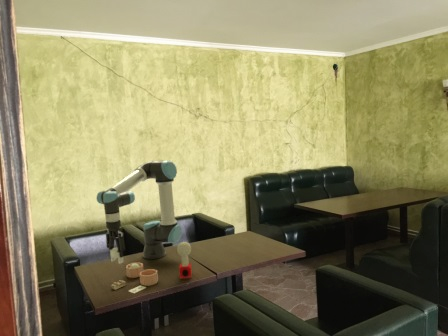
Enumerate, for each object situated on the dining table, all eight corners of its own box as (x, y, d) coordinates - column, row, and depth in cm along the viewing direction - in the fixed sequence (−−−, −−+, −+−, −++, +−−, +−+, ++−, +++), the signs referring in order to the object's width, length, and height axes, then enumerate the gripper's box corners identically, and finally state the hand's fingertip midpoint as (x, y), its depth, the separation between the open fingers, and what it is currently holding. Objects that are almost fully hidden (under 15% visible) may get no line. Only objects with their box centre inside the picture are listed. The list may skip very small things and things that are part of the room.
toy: (193, 272, 216) (191, 239, 214) (192, 278, 208) (190, 243, 206) (179, 273, 215) (177, 240, 213) (178, 279, 207) (175, 244, 205)
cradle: (111, 288, 200) (111, 283, 200) (122, 283, 205) (122, 279, 205) (115, 289, 198) (114, 284, 198) (126, 285, 203) (125, 280, 203)
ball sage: (127, 274, 217) (127, 264, 217) (136, 270, 222) (135, 261, 221) (134, 276, 214) (133, 266, 213) (142, 272, 218) (141, 263, 218)
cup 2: (137, 283, 205) (136, 273, 204) (150, 277, 212) (149, 268, 212) (148, 287, 199) (147, 277, 199) (161, 280, 206) (160, 271, 206)
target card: (128, 291, 195) (128, 290, 195) (140, 285, 201) (140, 285, 201) (134, 293, 192) (134, 292, 192) (146, 287, 198) (146, 287, 198)
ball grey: (108, 258, 200) (107, 248, 199) (118, 255, 205) (117, 245, 204) (115, 260, 196) (114, 250, 195) (124, 257, 201) (123, 246, 200)
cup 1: (123, 275, 217) (123, 266, 217) (136, 270, 224) (135, 261, 224) (134, 279, 211) (133, 269, 211) (146, 273, 219) (146, 264, 218)
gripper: (96, 220, 201) (101, 260, 204) (117, 224, 189) (122, 267, 192) (108, 216, 207) (112, 256, 209) (129, 220, 195) (133, 262, 198)
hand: (117, 261), depth 201 cm, fingers closed on ball grey, 6 cm apart
